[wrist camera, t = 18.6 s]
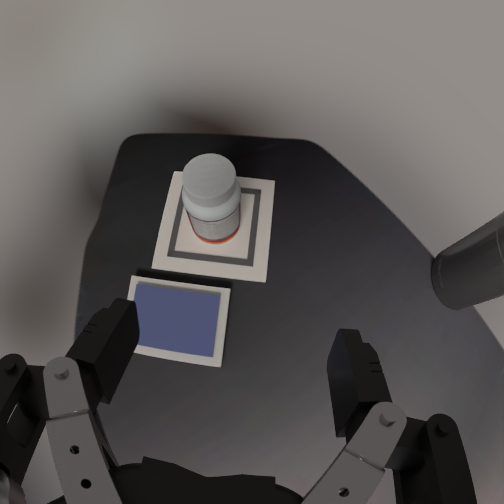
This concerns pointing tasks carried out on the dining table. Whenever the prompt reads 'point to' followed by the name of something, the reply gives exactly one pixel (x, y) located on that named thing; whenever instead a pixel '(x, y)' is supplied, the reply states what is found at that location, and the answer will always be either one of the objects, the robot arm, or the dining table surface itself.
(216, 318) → the ink pad
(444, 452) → the robot arm
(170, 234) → the white flat square slab
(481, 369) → the dining table surface
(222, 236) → the pill bottle
